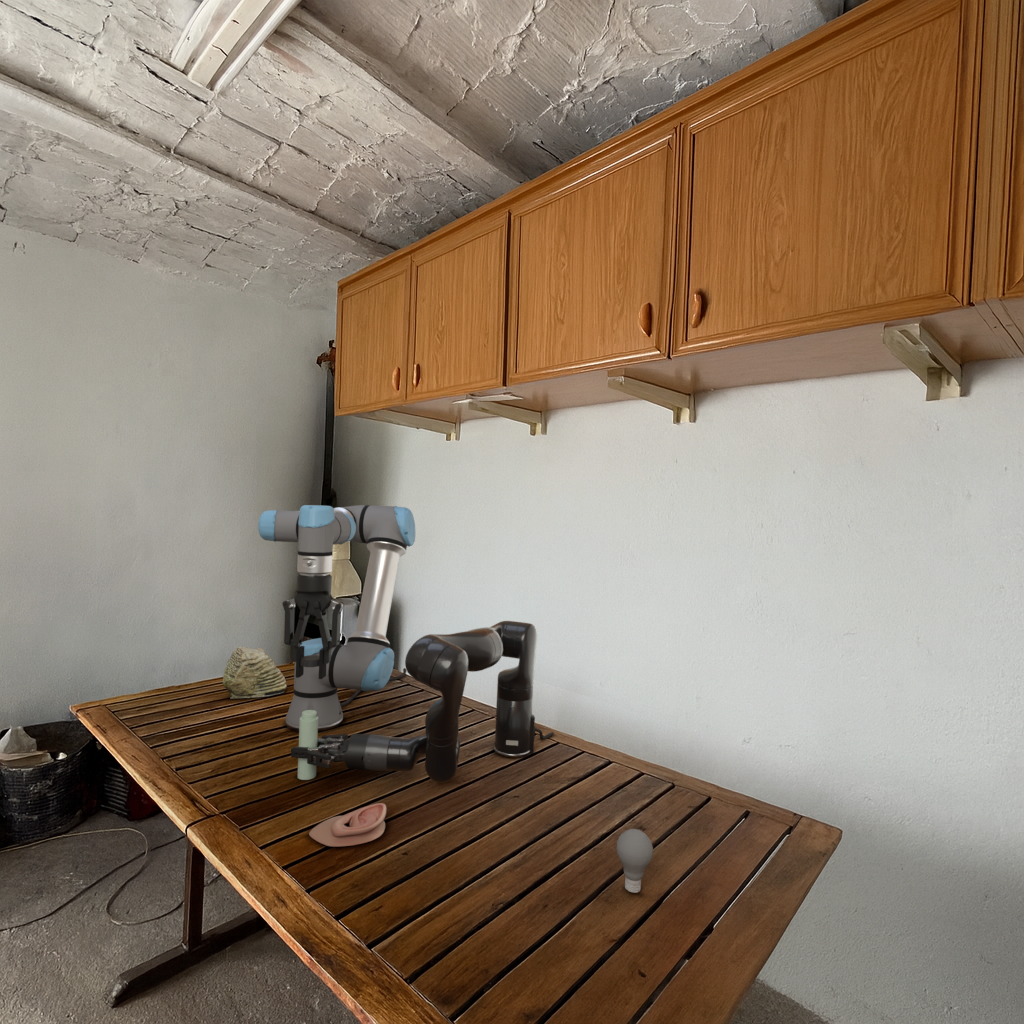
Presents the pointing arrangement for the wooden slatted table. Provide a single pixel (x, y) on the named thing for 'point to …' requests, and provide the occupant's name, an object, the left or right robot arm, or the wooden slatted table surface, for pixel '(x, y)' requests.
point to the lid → (310, 661)
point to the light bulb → (634, 857)
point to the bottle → (307, 742)
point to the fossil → (252, 674)
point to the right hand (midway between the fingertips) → (295, 747)
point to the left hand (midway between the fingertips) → (310, 676)
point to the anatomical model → (352, 827)
